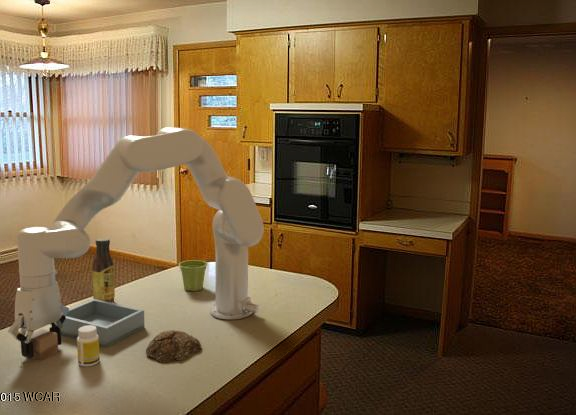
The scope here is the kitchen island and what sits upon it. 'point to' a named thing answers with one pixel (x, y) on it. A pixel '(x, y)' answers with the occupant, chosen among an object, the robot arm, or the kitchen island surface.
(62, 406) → the kitchen island surface
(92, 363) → the supplement bottle
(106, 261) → the sauce bottle
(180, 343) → the bread roll
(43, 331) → the walnut block
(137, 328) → the tote
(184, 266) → the plant pot
